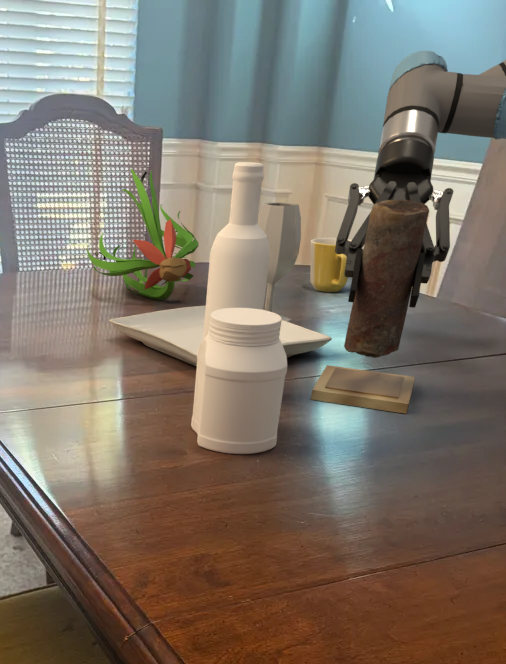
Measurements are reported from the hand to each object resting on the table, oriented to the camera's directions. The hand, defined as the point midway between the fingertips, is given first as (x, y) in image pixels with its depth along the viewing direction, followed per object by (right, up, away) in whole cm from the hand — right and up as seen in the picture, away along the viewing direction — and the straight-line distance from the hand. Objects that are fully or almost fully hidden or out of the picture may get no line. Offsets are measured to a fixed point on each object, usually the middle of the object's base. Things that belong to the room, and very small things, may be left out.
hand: (382, 298), depth 103 cm
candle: (+1, -6, +7) cm, 9 cm away
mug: (+13, +24, +71) cm, 76 cm away
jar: (-21, -19, -6) cm, 29 cm away
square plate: (-18, +1, +29) cm, 34 cm away
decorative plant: (-27, +20, +64) cm, 72 cm away
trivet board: (+1, -11, +10) cm, 15 cm away
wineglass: (-6, +9, +45) cm, 46 cm away
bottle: (-20, -12, +8) cm, 24 cm away
